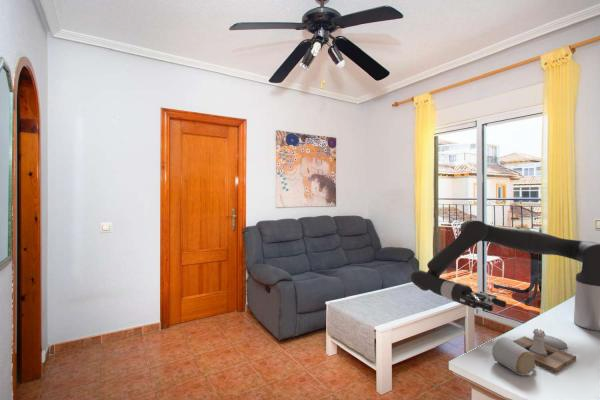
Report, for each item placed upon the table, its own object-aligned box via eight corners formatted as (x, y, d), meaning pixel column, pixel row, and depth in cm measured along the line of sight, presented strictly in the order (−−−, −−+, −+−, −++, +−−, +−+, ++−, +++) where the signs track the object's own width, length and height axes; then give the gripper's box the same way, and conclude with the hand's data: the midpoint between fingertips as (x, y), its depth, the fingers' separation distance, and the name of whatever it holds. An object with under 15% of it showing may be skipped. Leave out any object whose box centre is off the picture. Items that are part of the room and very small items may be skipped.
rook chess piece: (526, 352, 96) (527, 328, 96) (534, 350, 98) (535, 326, 97) (542, 360, 92) (543, 334, 92) (550, 357, 94) (551, 332, 93)
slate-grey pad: (540, 334, 109) (540, 332, 109) (571, 345, 101) (571, 343, 101) (528, 339, 105) (528, 337, 105) (559, 352, 97) (560, 349, 97)
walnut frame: (524, 340, 104) (524, 336, 104) (575, 360, 92) (576, 356, 92) (502, 349, 98) (502, 345, 98) (555, 372, 85) (555, 368, 85)
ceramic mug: (518, 379, 82) (519, 352, 82) (490, 363, 90) (492, 338, 90) (544, 373, 85) (545, 347, 85) (515, 358, 93) (516, 334, 93)
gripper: (445, 284, 116) (488, 299, 101) (467, 280, 122) (510, 293, 108) (444, 303, 116) (487, 320, 102) (466, 298, 123) (509, 313, 108)
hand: (499, 306), depth 105 cm, fingers open, 8 cm apart
